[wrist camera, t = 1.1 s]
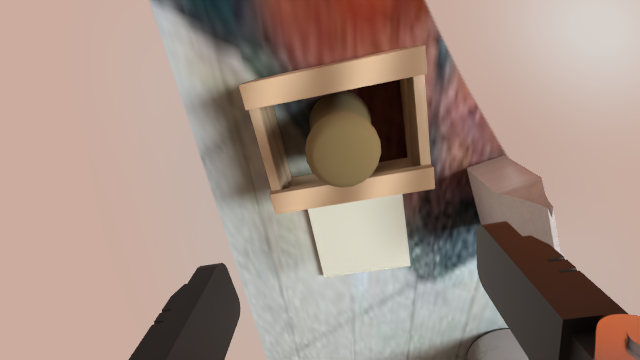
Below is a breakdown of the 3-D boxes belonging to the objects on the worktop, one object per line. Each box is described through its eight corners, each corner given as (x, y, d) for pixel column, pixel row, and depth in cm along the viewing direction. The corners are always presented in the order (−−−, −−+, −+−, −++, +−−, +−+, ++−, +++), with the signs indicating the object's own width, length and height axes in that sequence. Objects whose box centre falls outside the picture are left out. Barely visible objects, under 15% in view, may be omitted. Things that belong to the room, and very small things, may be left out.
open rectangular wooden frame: (405, 47, 27) (425, 45, 21) (416, 163, 31) (435, 188, 25) (257, 78, 29) (238, 85, 23) (285, 185, 33) (275, 214, 27)
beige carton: (480, 222, 34) (536, 287, 24) (466, 168, 31) (522, 216, 22) (515, 211, 33) (586, 273, 24) (503, 155, 31) (577, 199, 21)
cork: (344, 164, 32) (350, 216, 21) (296, 128, 30) (278, 165, 20) (384, 117, 30) (411, 150, 19) (335, 76, 28) (335, 89, 18)
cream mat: (400, 183, 32) (401, 186, 32) (409, 262, 36) (410, 265, 35) (306, 199, 33) (305, 201, 33) (324, 273, 37) (324, 277, 36)
